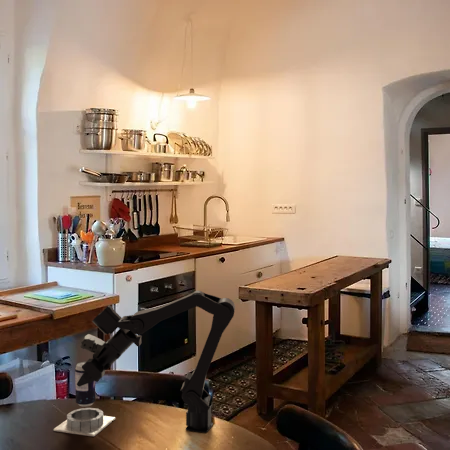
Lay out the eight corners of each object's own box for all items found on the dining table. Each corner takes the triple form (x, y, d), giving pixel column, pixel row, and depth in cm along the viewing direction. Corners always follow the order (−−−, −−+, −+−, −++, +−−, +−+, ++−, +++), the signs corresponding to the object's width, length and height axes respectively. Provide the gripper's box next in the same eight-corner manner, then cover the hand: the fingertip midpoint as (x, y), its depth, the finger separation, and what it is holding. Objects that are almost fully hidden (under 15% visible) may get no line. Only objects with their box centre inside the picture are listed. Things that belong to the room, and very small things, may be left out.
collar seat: (115, 419, 177) (115, 409, 177) (94, 436, 165) (93, 425, 165) (77, 414, 181) (77, 404, 181) (53, 430, 169) (53, 420, 168)
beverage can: (97, 405, 171) (96, 365, 170) (77, 408, 169) (76, 368, 168) (93, 399, 176) (92, 360, 176) (74, 402, 174) (73, 362, 173)
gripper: (105, 319, 180) (71, 353, 182) (88, 334, 162) (50, 372, 163) (131, 344, 180) (96, 379, 182) (117, 362, 162) (78, 400, 163)
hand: (80, 382), depth 172 cm, fingers closed on beverage can, 6 cm apart
